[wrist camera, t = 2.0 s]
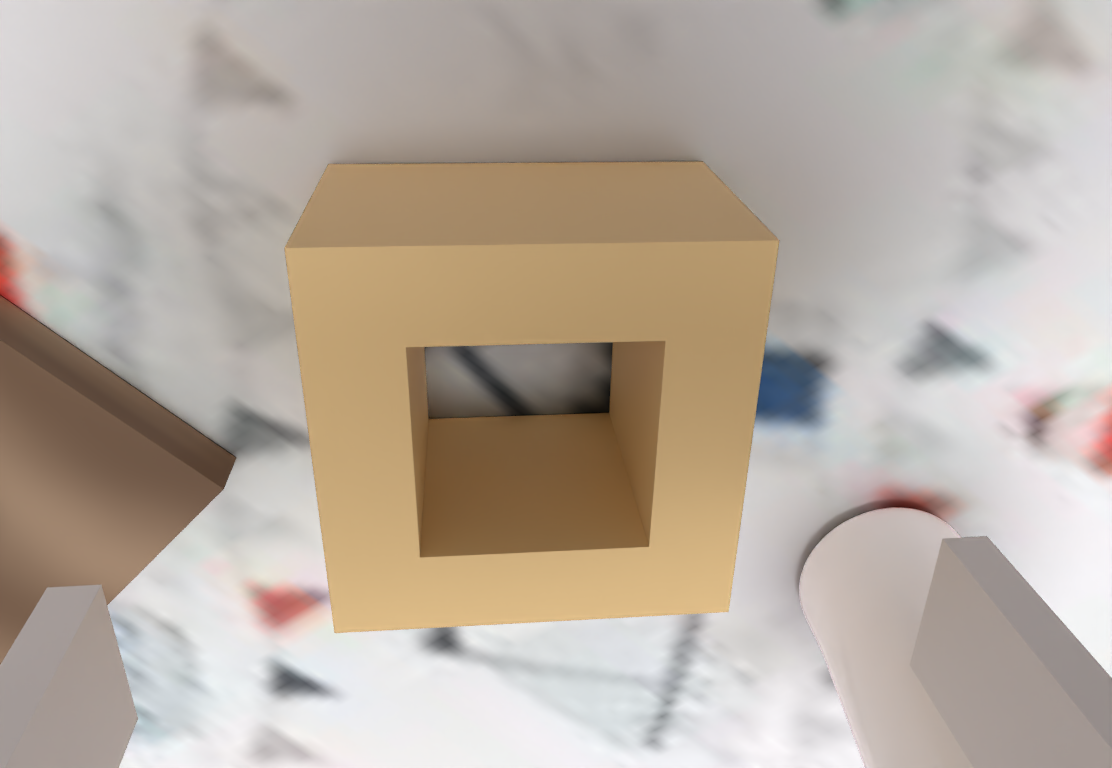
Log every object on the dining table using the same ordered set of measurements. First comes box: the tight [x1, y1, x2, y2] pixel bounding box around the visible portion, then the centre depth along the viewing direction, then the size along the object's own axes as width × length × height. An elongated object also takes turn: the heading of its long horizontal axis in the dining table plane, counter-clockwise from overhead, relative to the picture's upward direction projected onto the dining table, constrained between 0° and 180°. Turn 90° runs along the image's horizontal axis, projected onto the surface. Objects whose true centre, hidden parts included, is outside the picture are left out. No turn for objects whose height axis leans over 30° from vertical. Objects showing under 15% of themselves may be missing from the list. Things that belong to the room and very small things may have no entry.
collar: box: [284, 161, 779, 633], centre depth 21 cm, size 9×9×6 cm
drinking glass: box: [799, 507, 973, 768], centre depth 22 cm, size 7×7×15 cm
